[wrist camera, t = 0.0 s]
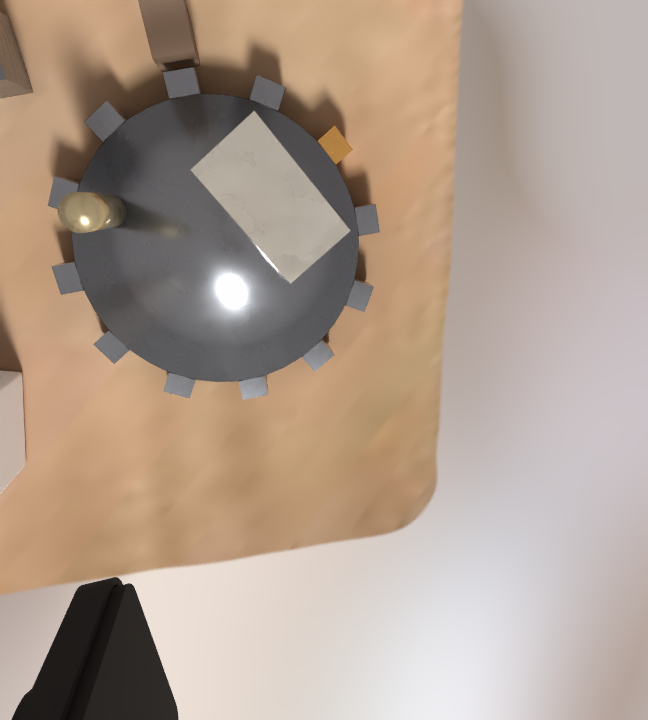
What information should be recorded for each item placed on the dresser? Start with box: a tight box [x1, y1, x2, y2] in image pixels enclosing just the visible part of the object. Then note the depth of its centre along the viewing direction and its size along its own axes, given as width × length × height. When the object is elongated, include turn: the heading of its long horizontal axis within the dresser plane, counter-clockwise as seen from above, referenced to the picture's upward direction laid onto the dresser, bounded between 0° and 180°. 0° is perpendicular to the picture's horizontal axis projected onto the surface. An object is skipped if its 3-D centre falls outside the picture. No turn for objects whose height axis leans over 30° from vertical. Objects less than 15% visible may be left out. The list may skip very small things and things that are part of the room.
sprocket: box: [48, 67, 380, 400], centre depth 32 cm, size 21×21×8 cm
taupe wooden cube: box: [138, 0, 200, 71], centre depth 31 cm, size 3×2×3 cm
